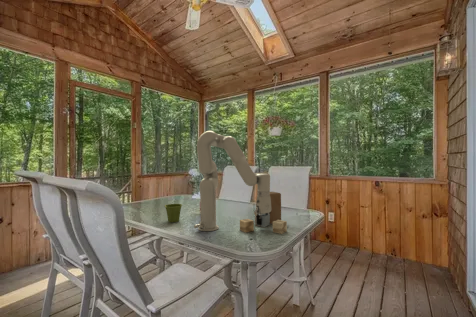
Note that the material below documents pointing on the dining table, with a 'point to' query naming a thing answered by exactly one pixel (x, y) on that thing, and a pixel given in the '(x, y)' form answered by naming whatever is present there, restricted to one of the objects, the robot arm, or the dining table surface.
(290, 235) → the dining table surface
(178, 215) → the plant pot
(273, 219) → the block
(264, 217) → the cube slate
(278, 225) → the cube maple
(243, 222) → the cube oak
